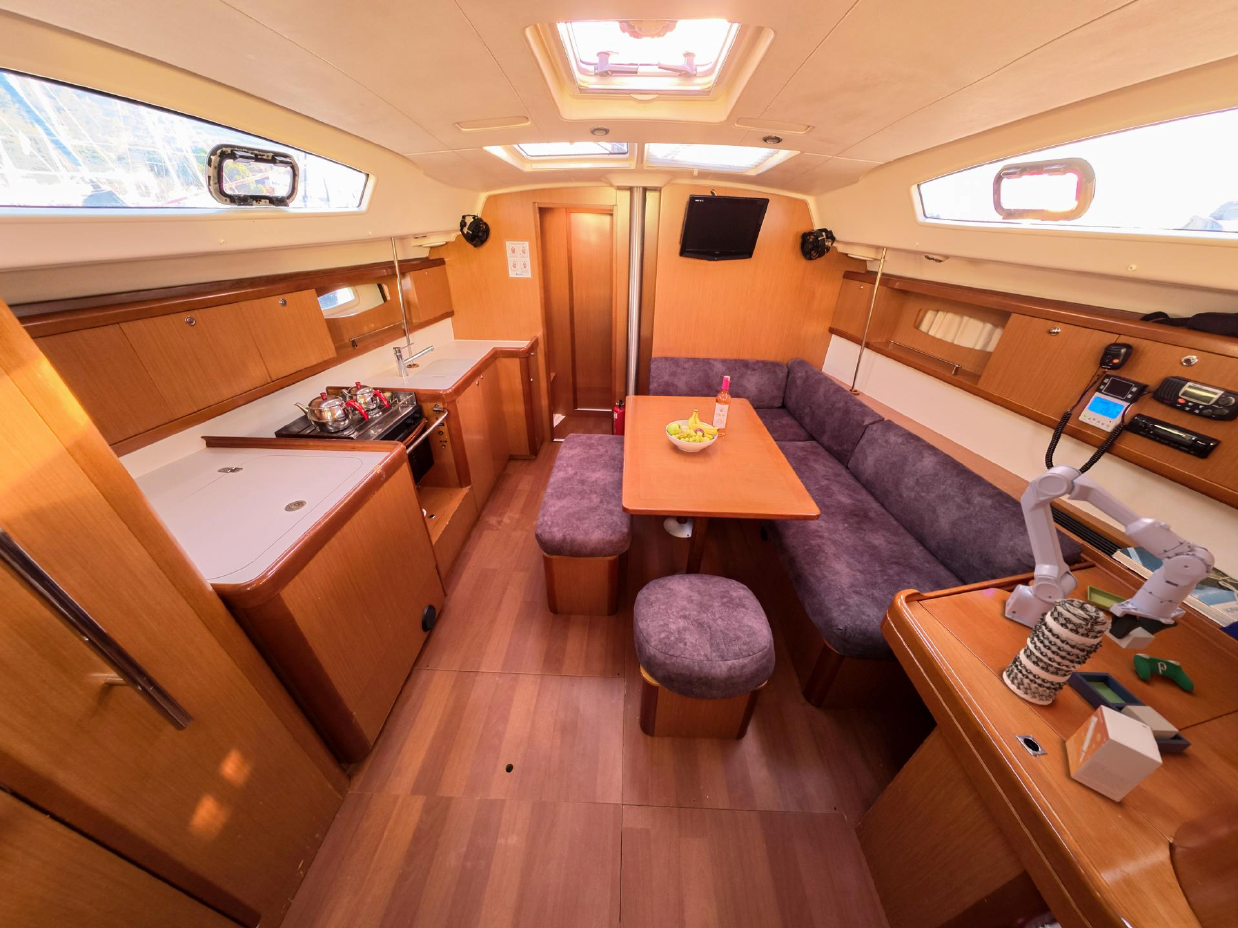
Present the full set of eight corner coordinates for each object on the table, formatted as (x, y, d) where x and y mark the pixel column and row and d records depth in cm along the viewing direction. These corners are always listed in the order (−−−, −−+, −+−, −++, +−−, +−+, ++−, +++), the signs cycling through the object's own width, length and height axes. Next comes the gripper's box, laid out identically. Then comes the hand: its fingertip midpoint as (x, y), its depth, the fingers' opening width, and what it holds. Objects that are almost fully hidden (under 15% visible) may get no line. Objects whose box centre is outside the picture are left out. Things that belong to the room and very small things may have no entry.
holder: (1141, 751, 80) (1151, 742, 78) (1065, 679, 93) (1072, 671, 92) (1182, 752, 80) (1192, 743, 78) (1100, 680, 93) (1107, 672, 92)
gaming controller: (1179, 689, 94) (1175, 662, 96) (1197, 692, 90) (1193, 664, 92) (1128, 677, 96) (1125, 650, 98) (1144, 679, 93) (1140, 652, 95)
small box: (1063, 742, 81) (1100, 703, 75) (1109, 765, 77) (1151, 725, 71) (1069, 777, 75) (1109, 737, 69) (1119, 803, 72) (1165, 764, 66)
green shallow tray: (1083, 604, 115) (1087, 598, 114) (1084, 589, 121) (1088, 584, 120) (1129, 622, 110) (1133, 616, 109) (1127, 606, 115) (1131, 600, 114)
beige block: (1142, 741, 81) (1154, 730, 79) (1115, 716, 85) (1126, 705, 83) (1166, 742, 81) (1179, 730, 79) (1138, 717, 85) (1150, 706, 83)
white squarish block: (1124, 648, 93) (1134, 636, 92) (1101, 631, 98) (1110, 619, 96) (1145, 649, 93) (1155, 637, 92) (1121, 631, 98) (1131, 620, 96)
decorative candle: (1031, 709, 87) (1096, 629, 76) (990, 671, 95) (1043, 593, 84) (1065, 703, 88) (1134, 624, 77) (1022, 666, 96) (1078, 589, 85)
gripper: (1151, 606, 85) (1114, 649, 91) (1218, 608, 85) (1176, 650, 91) (1114, 583, 92) (1082, 624, 98) (1177, 584, 92) (1140, 626, 98)
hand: (1125, 635), depth 95 cm, fingers closed on white squarish block, 5 cm apart
